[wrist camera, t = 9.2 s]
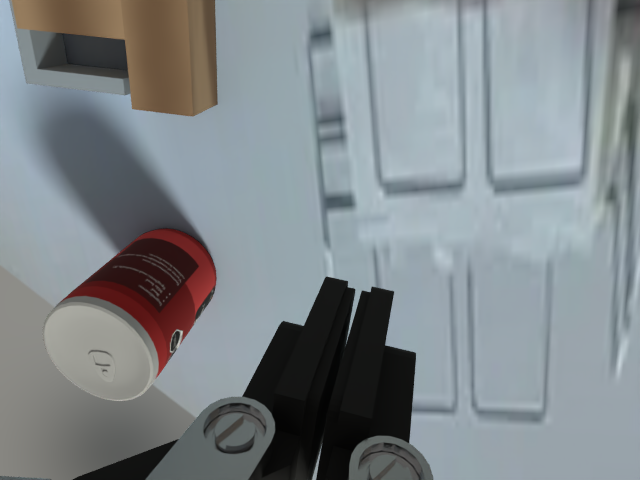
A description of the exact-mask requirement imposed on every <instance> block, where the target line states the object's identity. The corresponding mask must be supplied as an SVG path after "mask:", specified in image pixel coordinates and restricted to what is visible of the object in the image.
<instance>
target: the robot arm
mask: <svg viewBox="0 0 640 480" xmlns="http://www.w3.org/2000/svg"><path fill="white" fill-rule="evenodd" d="M354 295H355V289H353V288H348V281H344V280H340V279H335V278H331V277H326V278H325V279H324V282H323V284H322V286H321V289H320V291H319V293H318V295H317V298H316V300H315V302H314V304H313V307H312V309H311V311H310V313H309V316H308V318H307V320H306V322H305V325H304V326H302V325H298V324H293V323H289V322H285V321H283V322H281V324H280V325H279V327H278V329H277V331H276V333H275V335H274V337H273V339H272V341H271V343H270V344H269V346H268V348H267V350H266V352H265V354H264V356H263V358H262V360H261V362H260V364H259V366H258V367H257V369H256V371H255V373H254V375H253V377H252V379H251V381H250V383H249V385H248V387H247V389H246V391H245V392H244V394H243V396H242V397H229V398H224V399H220V400H218V401H216V402H214V403H212V404H210V405H209V406H208V407H207V408H206V409H204V410H203V411H202V412H201V413H200V415H199V416H198V417H197V418H196V419H195V421H194V422H193V423H192V424H191V425H190V427H189V428H188V429H187V430H186V431H185V433H184V434H183V435H182V436H181V437H180V439H178V440H175V441H172V442H170V443H167V444H164V445H162V446H159V447H156V448H154V449H151V450H148V451H146V452H143V453H141V454H138V455H135V456H132V457H130V458H127V459H124V460H122V461H119V462H116V463H114V464H111V465H108V466H106V467H103V468H100V469H98V470H95V471H92V472H90V473H87V474H84V475H82V476H79V477H77V478H75V479H73V480H312V477H313V474H314V470H315V467H316V463H317V459H318V456H319V452H320V449H321V454H320V460H319V466H318V472H317V478H316V480H433V475H432V472H431V469H430V465H429V464H428V462H427V461H426V459H425V458H424V456H423V455H422V454H421V453H420V452H419V451H418V450H417V449H416V448H415V447H414V446H413V445H411V444H409V439H410V426H411V413H412V401H413V388H414V375H415V363H416V353H415V352H410V351H406V350H402V349H398V348H394V347H390V346H385V341H386V335H387V330H388V324H389V318H390V312H391V307H392V301H393V295H394V291H389V290H385V289H380V288H376V287H372V289H371V292H366V291H362V292H361V296H360V299H359V303H358V306H357V309H356V313H355V316H354V320H353V323H352V327H351V330H350V334H349V337H348V340H347V335H348V330H349V324H350V318H351V312H352V306H353V301H354ZM346 341H347V344H346ZM321 445H322V448H321ZM0 480H51V479H42V478H25V477H9V476H0Z"/></svg>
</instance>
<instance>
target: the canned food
mask: <svg viewBox="0 0 640 480" xmlns="http://www.w3.org/2000/svg"><path fill="white" fill-rule="evenodd" d="M215 285H216V270H215V266H214V263H213V261H212V259H211V257H210V255H209V253H208V252H207V251H206V249H205V248H204V247H203V246H202V245H201V244H200V243H199V242H198V241H197V240H195V239H194V238H193V237H191V236H190V235H188V234H186V233H184V232H181V231H178V230H175V229H167V228H166V229H157V230H153V231H150V232H146V233H144V234H143V235H141V236H139V237H138V238H137V239H135V240H134V241H133V242H132V243H131V244H129V245H128V246H127V247H126V248H125V249H123V250H122V251H121V252H120V253H118V254H117V255H116V256H115V257H114V258H112V259H111V260H110V261H109V262H107V263H106V264H105V265H104V266H103V267H101V268H100V269H99V270H98V271H97V272H95V273H94V274H93V275H92V276H90V277H89V278H88V279H87V280H86V281H84V282H83V283H82V284H81V285H80V286H78V287H77V288H76V289H75V290H73V291H72V292H71V293H70V294H69V295H68V296H67V297H66V298H64V299H63V300H62V301H61V302H60V303H58V304H57V306H56V307H55V308H54V309H53V310H52V311H51V312H50V313H49V314H48V316H47V318H46V320H45V322H44V326H43V341H44V344H45V347H46V350H47V352H48V354H49V356H50V358H51V360H52V361H53V363H54V364H55V366H56V367H57V368H58V370H59V371H60V372H61V373H62V374H63V375H64V376H65V377H66V378H67V379H69V380H70V381H71V382H72V383H73V384H75V385H76V386H77V387H79V388H81V389H82V390H84V391H86V392H88V393H90V394H92V395H94V396H97V397H100V398H103V399H108V400H113V401H125V400H131V399H134V398H136V397H138V396H140V395H142V394H143V393H144V392H145V391H146V390H147V389H148V388H149V387H150V386H151V385H152V383H153V382H154V381H155V379H156V378H157V376H158V375H159V374H160V373H161V371H162V370H163V368H164V367H165V366H166V364H167V363H168V361H169V360H170V358H171V357H172V355H173V354H174V353H175V351H176V350H177V348H178V347H179V345H180V344H181V342H182V341H183V339H184V338H185V337H186V335H187V334H188V332H189V331H190V329H191V328H192V326H193V325H194V324H195V322H196V321H197V319H198V318H199V316H200V315H201V313H202V312H203V311H204V309H205V308H206V306H207V305H208V303H209V302H210V300H211V299H212V297H213V294H214V291H215Z"/></svg>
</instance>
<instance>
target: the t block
mask: <svg viewBox="0 0 640 480" xmlns="http://www.w3.org/2000/svg"><path fill="white" fill-rule="evenodd" d="M12 5H13V10H14V15H15V20H16V25H17V29H27V30H37V31H47V32H56V33H66V34H76V35H85V36H95V37H105V38H114V39H124V40H125V46H126V55H127V64H128V74H129V83H130V92H131V102H132V109H136V110H144V111H153V112H161V113H169V114H177V115H185V116H195V115H197V114H199V113H201V112H203V111H205V110H207V109H209V108H211V107H213V106H215V105H217V63H216V23H215V0H12Z"/></svg>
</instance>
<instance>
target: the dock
mask: <svg viewBox="0 0 640 480" xmlns="http://www.w3.org/2000/svg"><path fill="white" fill-rule="evenodd" d="M9 2H10V7H11V11H12V16H13V21H14V26H15V31H16V36H17V41H18V45H19V50H20V55H21V60H22V65H23V70H24V74H25V79H26V83H27V84H35V85H43V86H52V87H60V88H68V89H77V90H85V91H93V92H102V93H110V94H118V95H127V94H131V92H130V83H129V74H128V71H127V70H119V69H110V68H101V67H92V66H83V65H74V64H67V57H66V51H65V45H64V39H63V33H56V32H47V31H37V30H27V29H17V25H16V20H15V15H14V10H13V5H12V0H9Z"/></svg>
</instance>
